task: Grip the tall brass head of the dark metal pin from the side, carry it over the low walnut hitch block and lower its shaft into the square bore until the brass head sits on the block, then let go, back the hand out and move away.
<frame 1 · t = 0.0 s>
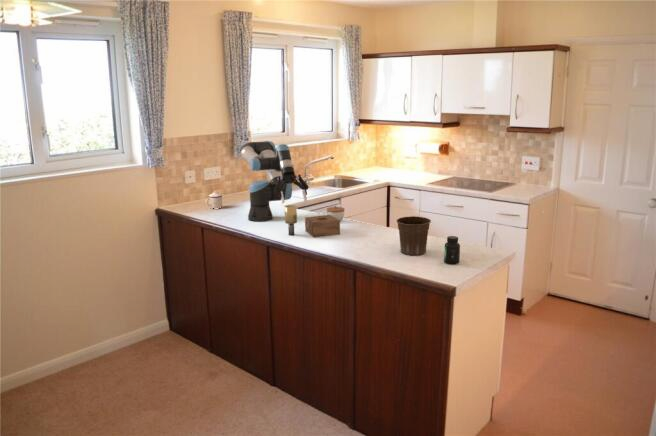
hand: (294, 201, 310), 15 cm above the counter, tool tilted 35°, fingers open, 13 cm apart
teacup with lid: (214, 208, 366), on the counter
supplement bottle: (451, 262, 246), on the counter
lidded jar: (335, 221, 326), on the counter
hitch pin: (291, 234, 297), on the counter
plant pot: (412, 252, 262), on the counter
hitch block: (322, 232, 300), on the counter
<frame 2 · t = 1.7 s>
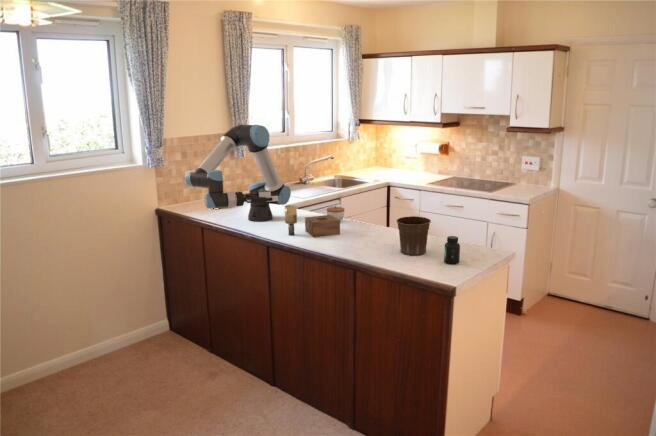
hand: (274, 196, 289), 22 cm above the counter, tool horizontal, fingers open, 13 cm apart
nothing on the counter moved.
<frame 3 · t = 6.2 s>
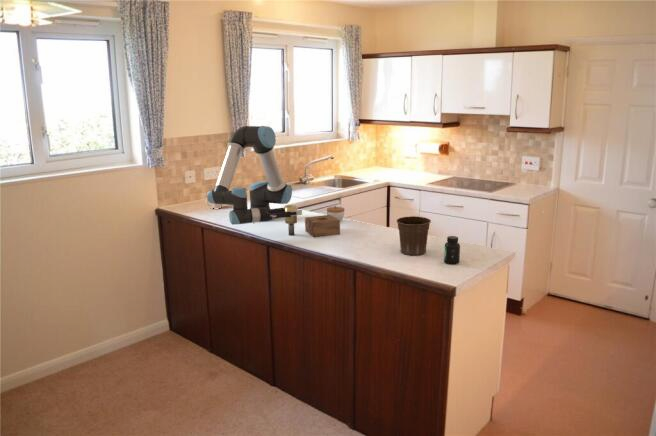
hand: (299, 210, 296), 13 cm above the counter, tool horizontal, fingers closed on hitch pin, 6 cm apart
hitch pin: (291, 234, 297), on the counter, touching gripper
everything else where it was.
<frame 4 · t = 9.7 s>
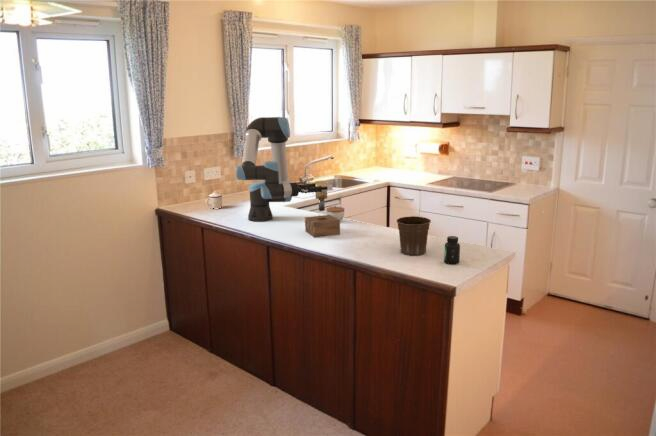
hand: (329, 186, 296), 26 cm above the counter, tool horizontal, fingers closed on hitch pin, 6 cm apart
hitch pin: (321, 210, 297), point 13 cm above the counter, touching gripper
everything else where it was.
when the fingers open (14 cm above the counter, at t = 13.5 s): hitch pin stays where it is, resting on hitch block.
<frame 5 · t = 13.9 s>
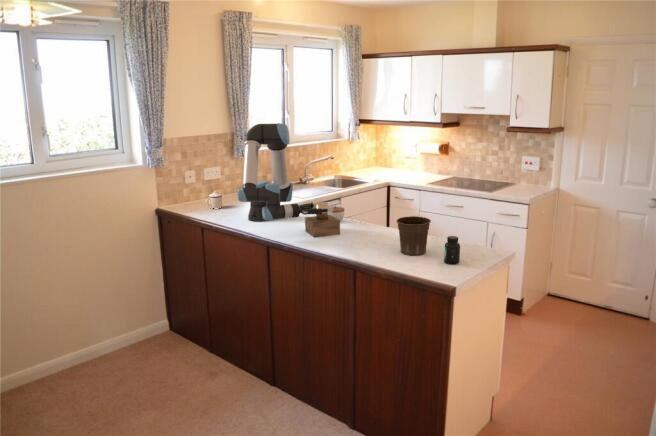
hand: (328, 207, 298), 14 cm above the counter, tool horizontal, fingers open, 11 cm apart
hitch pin: (322, 231, 300), point 1 cm above the counter, touching hitch block
everything else where it was.
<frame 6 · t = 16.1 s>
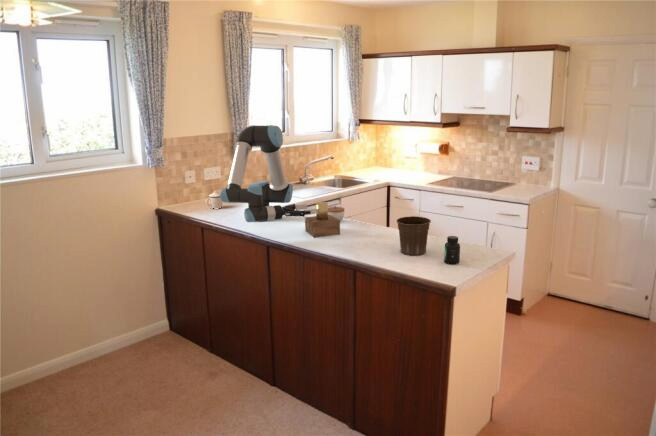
hand: (311, 208, 294), 14 cm above the counter, tool horizontal, fingers open, 13 cm apart
nothing on the counter moved.
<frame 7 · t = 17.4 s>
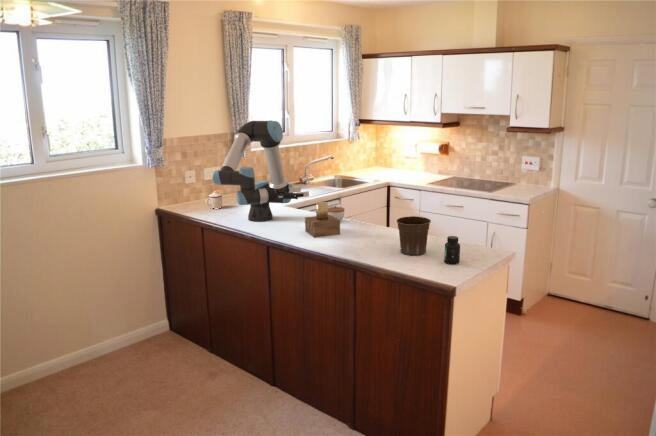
hand: (304, 191, 290), 24 cm above the counter, tool horizontal, fingers open, 13 cm apart
nothing on the counter moved.
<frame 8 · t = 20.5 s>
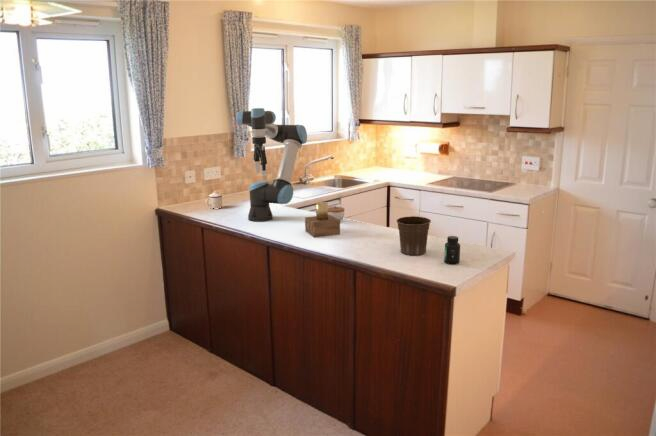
hand: (260, 174, 303), 32 cm above the counter, tool pointing down, fingers open, 13 cm apart
nothing on the counter moved.
at the end: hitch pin 0.0 cm off-centre on the hitch block, point 1.0 cm above the hitch block's base; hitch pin tilted 0°; the gripper is holding nothing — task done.
